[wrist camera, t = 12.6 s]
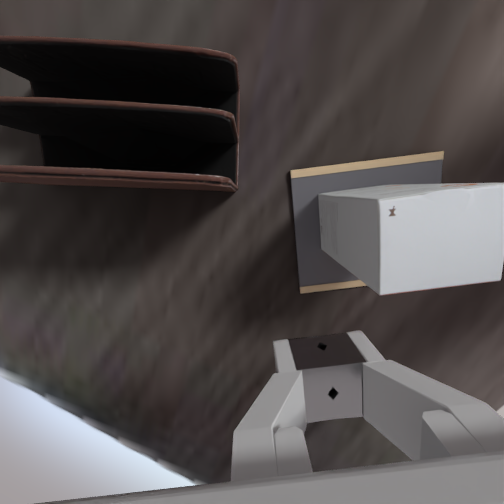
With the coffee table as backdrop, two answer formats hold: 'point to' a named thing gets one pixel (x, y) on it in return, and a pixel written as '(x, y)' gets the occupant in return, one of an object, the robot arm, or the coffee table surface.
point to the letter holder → (124, 113)
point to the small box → (416, 234)
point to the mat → (337, 179)
